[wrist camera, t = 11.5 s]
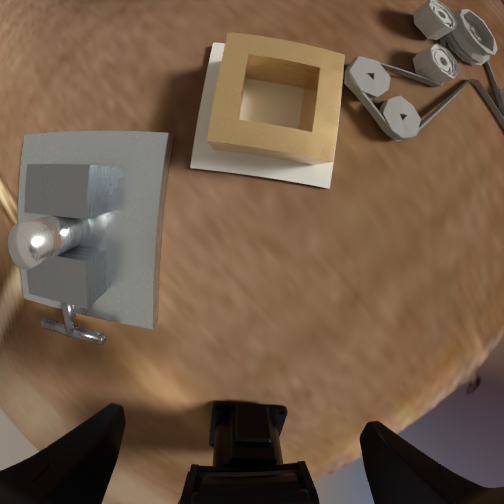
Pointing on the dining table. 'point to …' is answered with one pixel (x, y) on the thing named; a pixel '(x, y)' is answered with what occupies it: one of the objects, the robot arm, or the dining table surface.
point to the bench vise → (92, 225)
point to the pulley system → (427, 68)
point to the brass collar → (287, 73)
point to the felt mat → (257, 110)
